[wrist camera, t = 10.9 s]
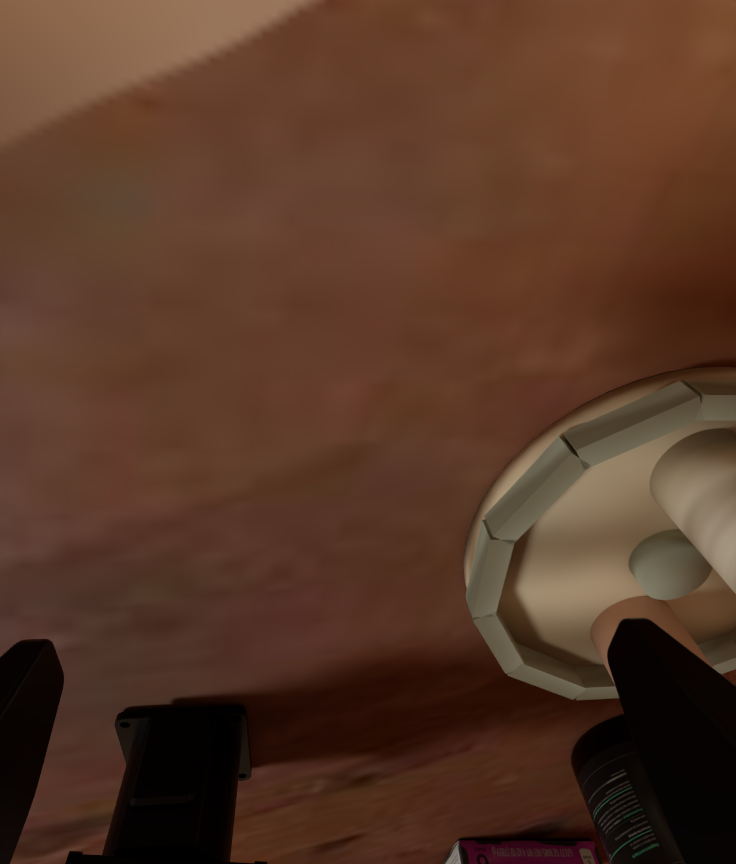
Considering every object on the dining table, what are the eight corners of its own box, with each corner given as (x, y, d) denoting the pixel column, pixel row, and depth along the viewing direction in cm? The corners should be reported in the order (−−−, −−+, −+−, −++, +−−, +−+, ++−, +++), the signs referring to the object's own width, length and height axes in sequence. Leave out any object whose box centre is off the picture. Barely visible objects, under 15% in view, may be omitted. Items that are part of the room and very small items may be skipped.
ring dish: (745, 654, 31) (773, 691, 29) (440, 668, 29) (449, 708, 27) (927, 370, 22) (985, 396, 20) (502, 362, 20) (522, 389, 18)
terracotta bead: (655, 649, 28) (717, 748, 24) (580, 653, 28) (630, 754, 23) (683, 594, 26) (756, 691, 22) (603, 596, 26) (662, 696, 21)
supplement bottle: (697, 728, 34) (862, 994, 24) (617, 781, 37) (734, 1042, 27) (626, 699, 32) (775, 981, 22) (545, 758, 35) (644, 1035, 24)
